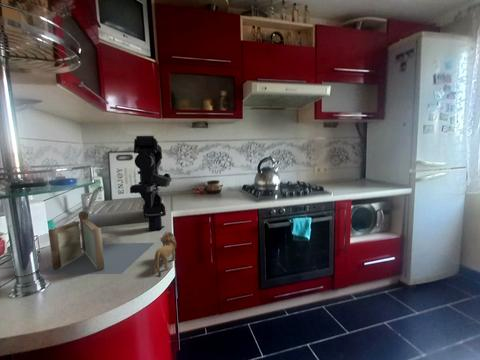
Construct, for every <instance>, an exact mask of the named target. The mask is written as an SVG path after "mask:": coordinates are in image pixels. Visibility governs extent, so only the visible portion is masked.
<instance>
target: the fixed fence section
mask: <svg viewBox="0 0 480 360" xmlns="http://www.w3.org/2000/svg"><path fill="white" fill-rule="evenodd" d="M78 219H79V221H75V220H74V221H71V222H69V223H67V224H64V225H61V226H58V227H56V228H52V229H48V237H49V245H50V254H51V264H53V270H57V269H59V268H61V267H62V266H63V265H65V264H67V263H68V262H70V261H72V260H73V259H75V258H77V257H78V256H80V255H82V251H81V248H82V247H83V252H86V249H85V239H84V229H83V223H82V219H89V213H88V212H87V211H84V210H82V211H81V212H79V213H78ZM81 243H82V244H81Z"/></svg>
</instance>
